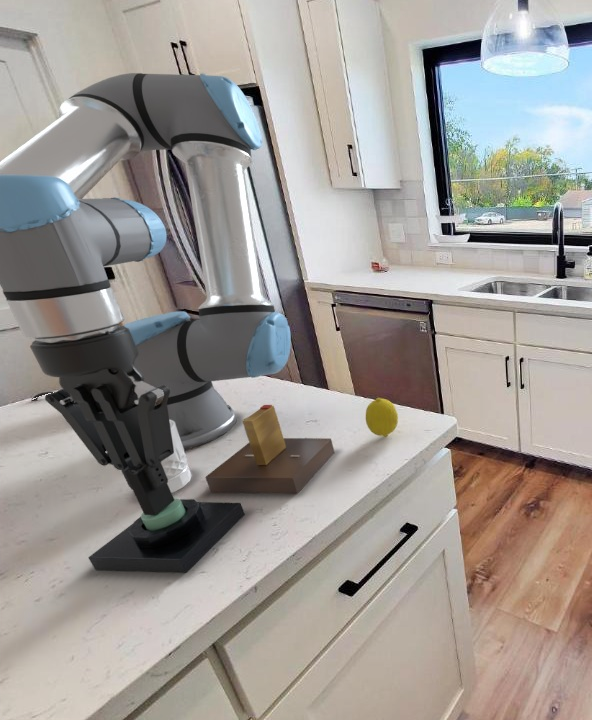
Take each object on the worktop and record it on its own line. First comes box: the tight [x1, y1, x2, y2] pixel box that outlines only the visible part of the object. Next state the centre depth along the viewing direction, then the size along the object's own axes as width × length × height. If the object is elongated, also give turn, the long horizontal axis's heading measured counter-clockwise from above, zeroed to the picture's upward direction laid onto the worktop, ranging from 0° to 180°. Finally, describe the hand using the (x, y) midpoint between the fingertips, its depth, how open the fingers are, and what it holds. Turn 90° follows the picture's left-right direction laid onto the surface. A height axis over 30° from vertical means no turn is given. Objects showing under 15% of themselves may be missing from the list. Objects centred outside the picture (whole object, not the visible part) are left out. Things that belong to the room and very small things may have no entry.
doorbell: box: [88, 498, 246, 574], centre depth 55 cm, size 12×10×4 cm
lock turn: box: [241, 404, 286, 465], centre depth 67 cm, size 5×2×8 cm, turn 176°
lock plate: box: [204, 437, 335, 495], centre depth 69 cm, size 14×11×3 cm
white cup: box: [161, 419, 192, 494], centre depth 65 cm, size 8×8×10 cm
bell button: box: [140, 498, 186, 530], centre depth 54 cm, size 4×4×2 cm
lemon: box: [365, 397, 399, 438], centre depth 77 cm, size 6×6×8 cm
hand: (159, 507), depth 53 cm, fingers closed
